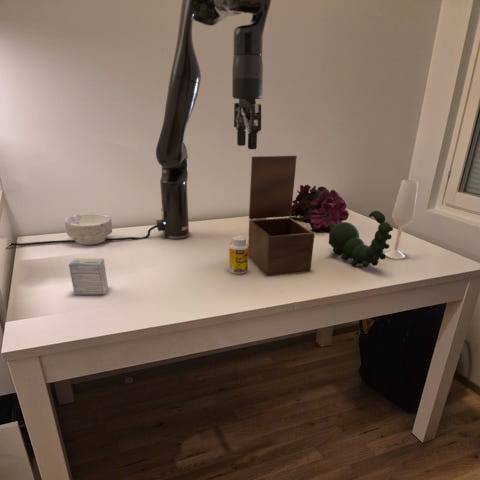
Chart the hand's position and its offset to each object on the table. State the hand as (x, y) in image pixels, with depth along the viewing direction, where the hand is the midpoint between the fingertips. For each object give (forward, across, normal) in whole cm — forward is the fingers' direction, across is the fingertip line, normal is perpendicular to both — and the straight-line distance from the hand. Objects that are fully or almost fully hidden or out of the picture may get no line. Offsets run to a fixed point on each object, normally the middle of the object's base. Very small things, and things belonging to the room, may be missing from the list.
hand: (246, 147), depth 112 cm
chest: (+34, 0, -11) cm, 36 cm away
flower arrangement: (+35, +38, -46) cm, 70 cm away
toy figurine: (+35, -4, -35) cm, 50 cm away
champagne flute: (+35, -4, -52) cm, 63 cm away
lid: (+13, +8, -12) cm, 19 cm away
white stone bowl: (+34, +39, +44) cm, 68 cm away
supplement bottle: (+34, -2, +3) cm, 35 cm away
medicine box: (+34, -5, +45) cm, 57 cm away
